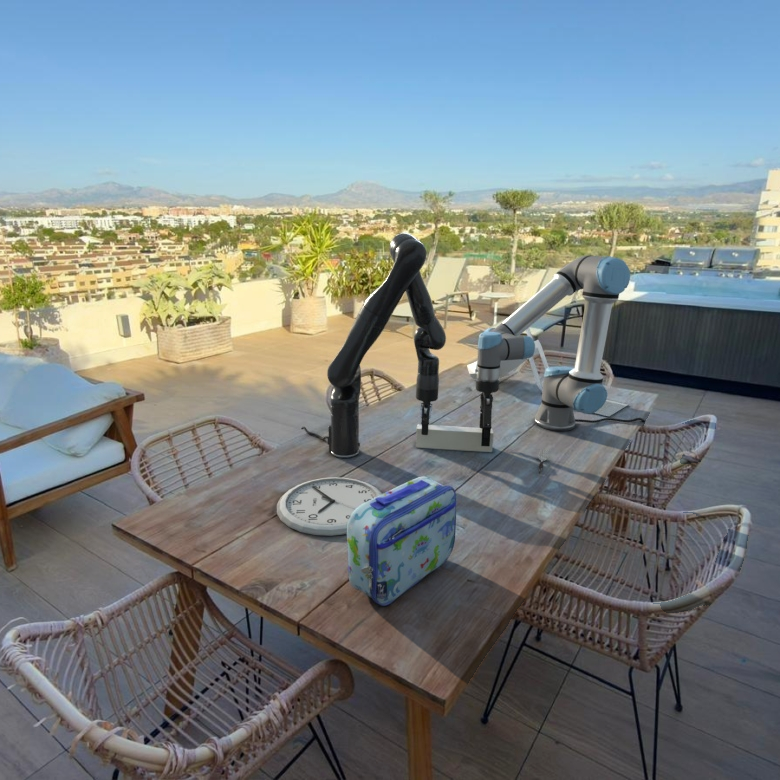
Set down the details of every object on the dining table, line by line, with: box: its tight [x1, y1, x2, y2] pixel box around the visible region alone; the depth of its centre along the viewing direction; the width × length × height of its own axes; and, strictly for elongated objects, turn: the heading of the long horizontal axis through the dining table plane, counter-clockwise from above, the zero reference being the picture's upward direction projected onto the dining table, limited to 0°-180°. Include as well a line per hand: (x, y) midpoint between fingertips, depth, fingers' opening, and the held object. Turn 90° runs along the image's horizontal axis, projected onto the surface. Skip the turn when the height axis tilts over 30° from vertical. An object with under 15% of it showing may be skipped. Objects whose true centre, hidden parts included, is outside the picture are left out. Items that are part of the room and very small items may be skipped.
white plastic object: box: [466, 327, 550, 393], centre depth 255 cm, size 37×45×31 cm
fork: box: [538, 449, 548, 474], centre depth 169 cm, size 3×16×2 cm, turn 160°
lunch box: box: [346, 475, 457, 607], centre depth 111 cm, size 26×11×21 cm, turn 134°
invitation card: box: [593, 399, 629, 418], centre depth 226 cm, size 21×1×15 cm
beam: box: [415, 423, 495, 453], centre depth 181 cm, size 26×4×7 cm, turn 83°
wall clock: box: [276, 476, 384, 537], centre depth 142 cm, size 30×2×30 cm
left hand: (425, 430), depth 182 cm, fingers open, 8 cm apart
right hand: (484, 438), depth 180 cm, fingers open, 13 cm apart
